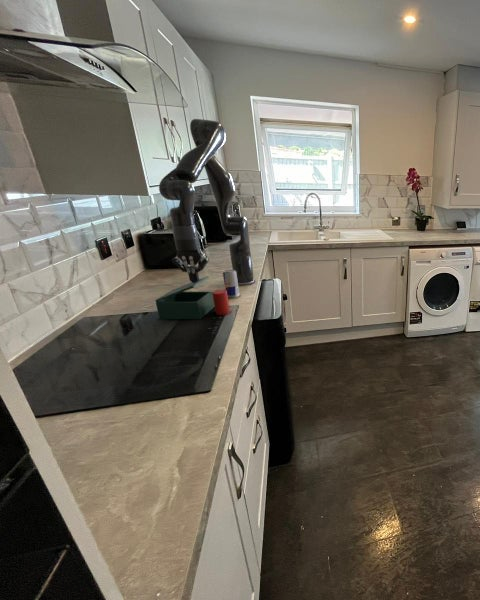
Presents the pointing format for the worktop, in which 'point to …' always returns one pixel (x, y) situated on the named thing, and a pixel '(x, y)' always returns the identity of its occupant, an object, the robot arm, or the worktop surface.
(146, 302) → the worktop surface
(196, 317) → the box
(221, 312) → the tin
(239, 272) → the robot arm
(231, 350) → the worktop surface
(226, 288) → the energy drink
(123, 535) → the worktop surface
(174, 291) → the lid
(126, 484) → the worktop surface
